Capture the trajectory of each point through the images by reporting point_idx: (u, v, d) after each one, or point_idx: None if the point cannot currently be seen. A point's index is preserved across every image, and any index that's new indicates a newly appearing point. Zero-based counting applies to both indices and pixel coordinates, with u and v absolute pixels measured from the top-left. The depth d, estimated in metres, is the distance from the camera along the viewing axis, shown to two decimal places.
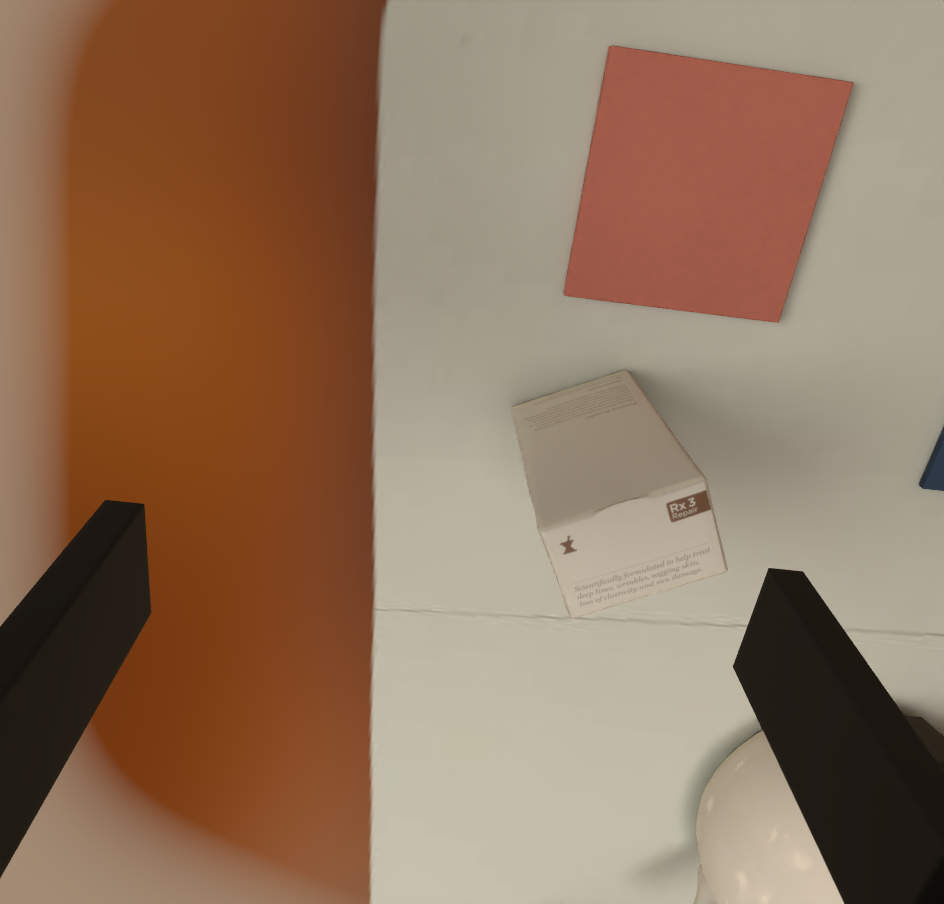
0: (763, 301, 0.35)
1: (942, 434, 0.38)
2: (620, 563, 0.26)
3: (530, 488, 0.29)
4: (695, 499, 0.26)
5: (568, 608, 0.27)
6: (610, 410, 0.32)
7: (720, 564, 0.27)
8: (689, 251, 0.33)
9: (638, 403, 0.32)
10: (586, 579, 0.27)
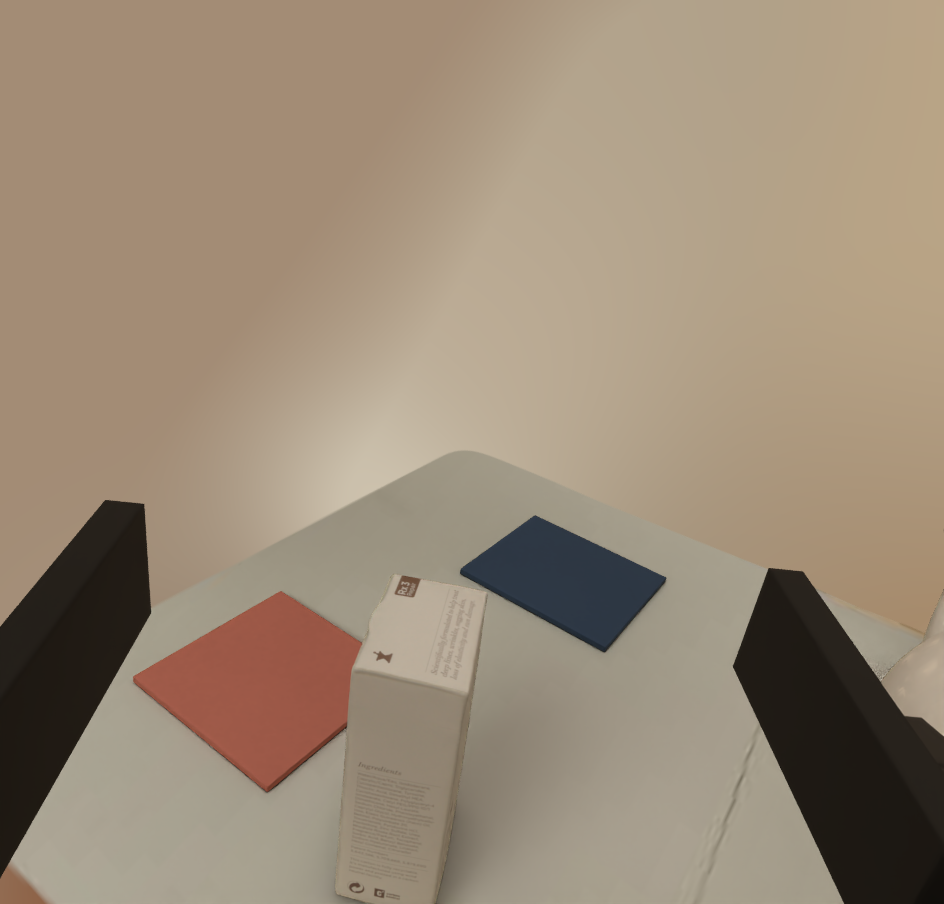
0: None
1: (563, 628, 0.48)
2: (428, 635, 0.28)
3: (346, 734, 0.27)
4: (404, 581, 0.30)
5: (454, 690, 0.26)
6: None
7: (476, 590, 0.31)
8: (308, 695, 0.40)
9: None
10: (427, 661, 0.26)
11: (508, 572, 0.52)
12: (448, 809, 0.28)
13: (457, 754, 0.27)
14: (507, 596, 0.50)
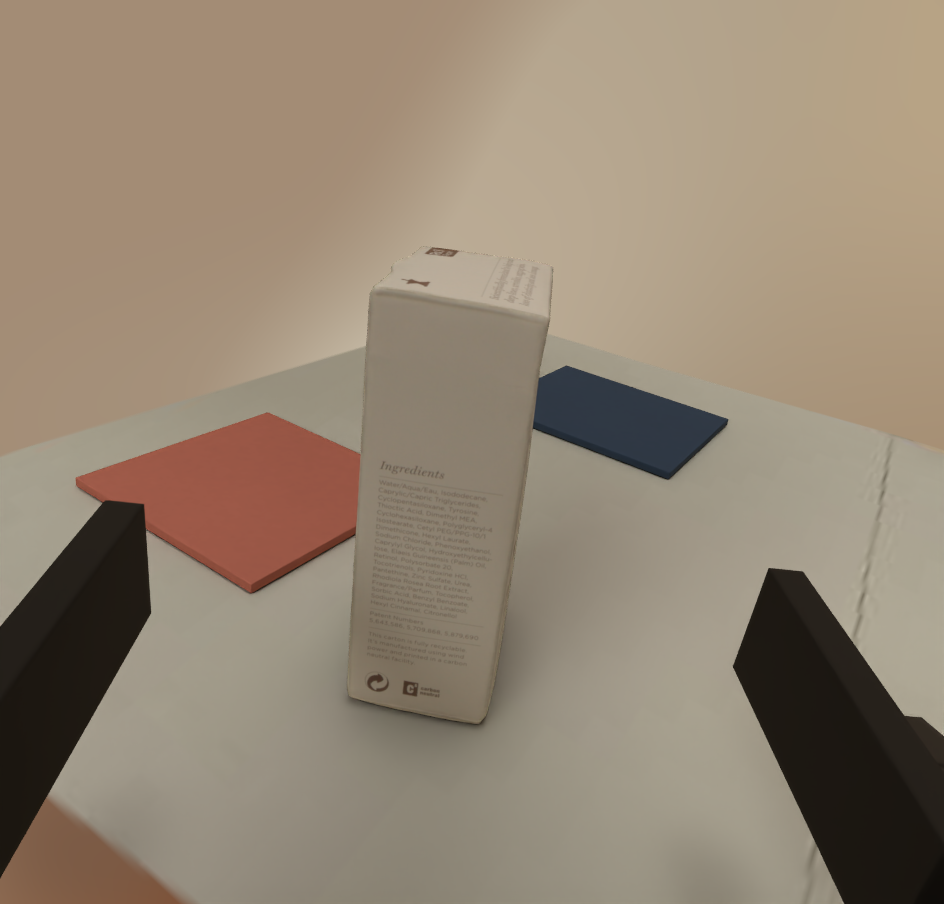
0: None
1: (615, 456, 0.39)
2: (479, 276, 0.19)
3: (363, 415, 0.18)
4: (437, 249, 0.22)
5: (526, 314, 0.17)
6: None
7: (537, 262, 0.22)
8: (304, 501, 0.31)
9: None
10: (483, 291, 0.18)
11: (542, 408, 0.43)
12: (513, 536, 0.19)
13: (529, 434, 0.18)
14: (544, 428, 0.41)
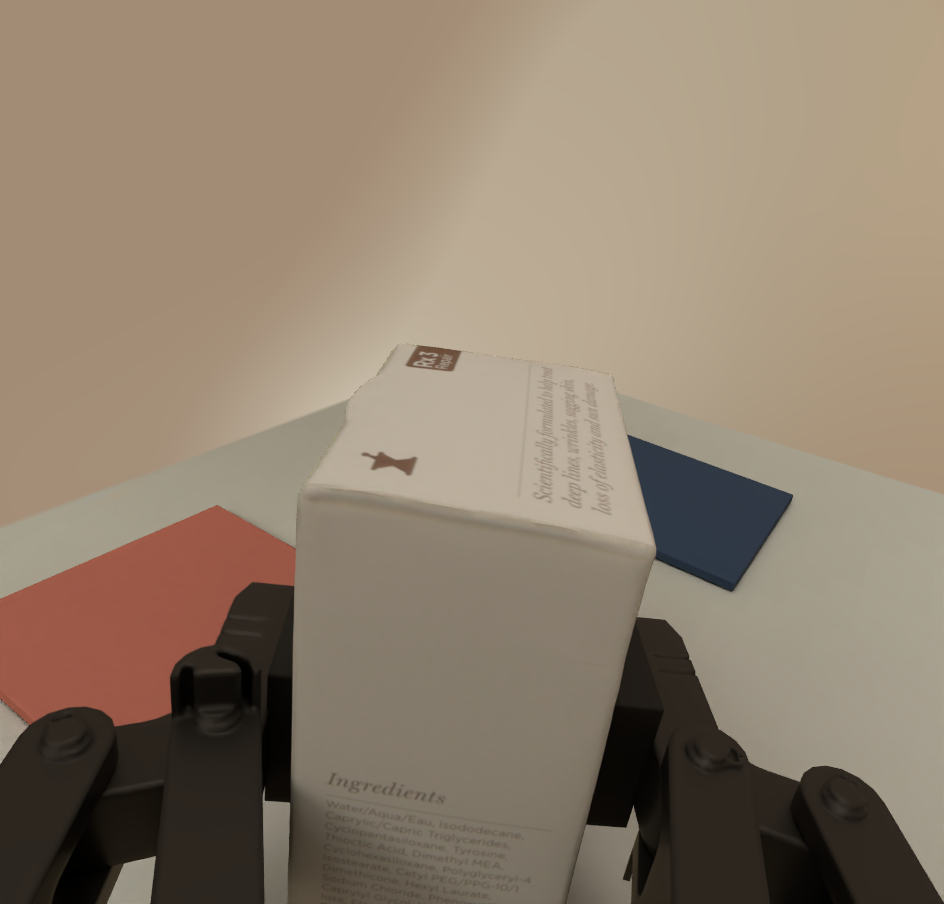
0: None
1: (661, 558, 0.31)
2: (504, 427, 0.10)
3: (293, 698, 0.10)
4: (426, 351, 0.13)
5: (612, 541, 0.08)
6: None
7: (589, 371, 0.13)
8: None
9: None
10: (519, 475, 0.09)
11: None
12: (567, 887, 0.11)
13: (605, 739, 0.10)
14: None
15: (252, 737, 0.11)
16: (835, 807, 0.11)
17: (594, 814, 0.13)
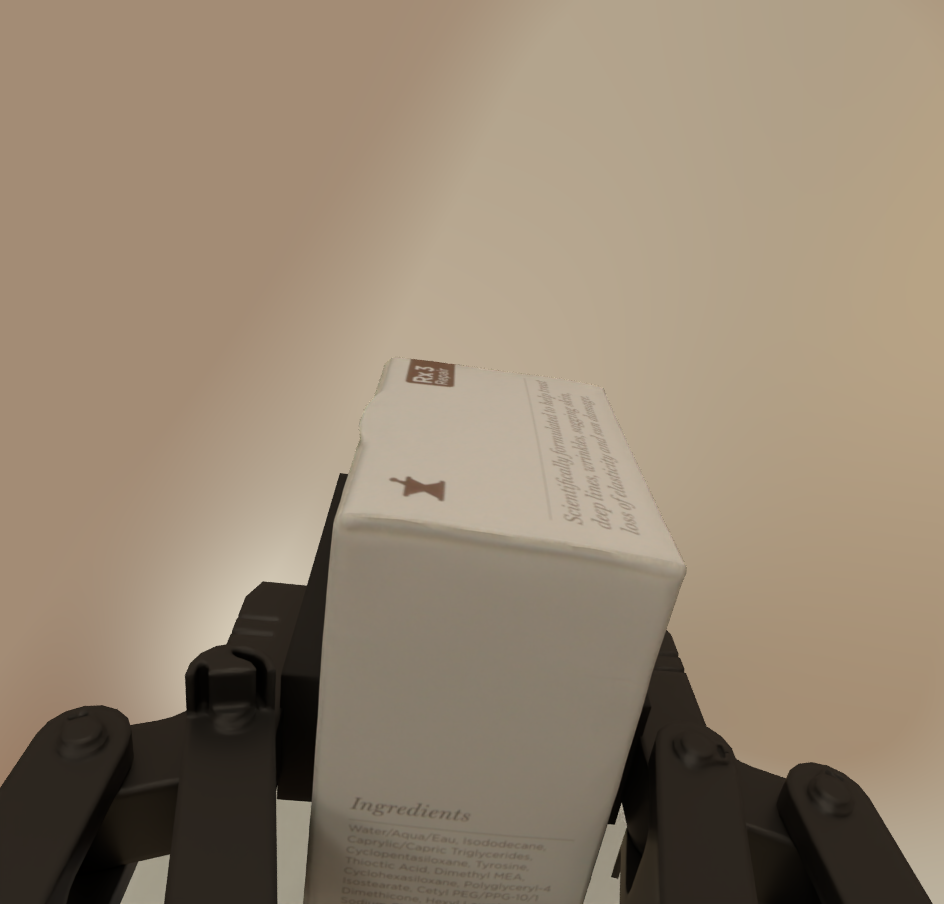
0: None
1: None
2: (520, 446, 0.11)
3: (318, 725, 0.10)
4: (421, 365, 0.13)
5: (645, 561, 0.09)
6: None
7: (581, 383, 0.14)
8: None
9: None
10: (545, 497, 0.09)
11: None
12: (585, 892, 0.11)
13: (629, 749, 0.10)
14: None
15: (266, 736, 0.11)
16: (821, 804, 0.11)
17: None
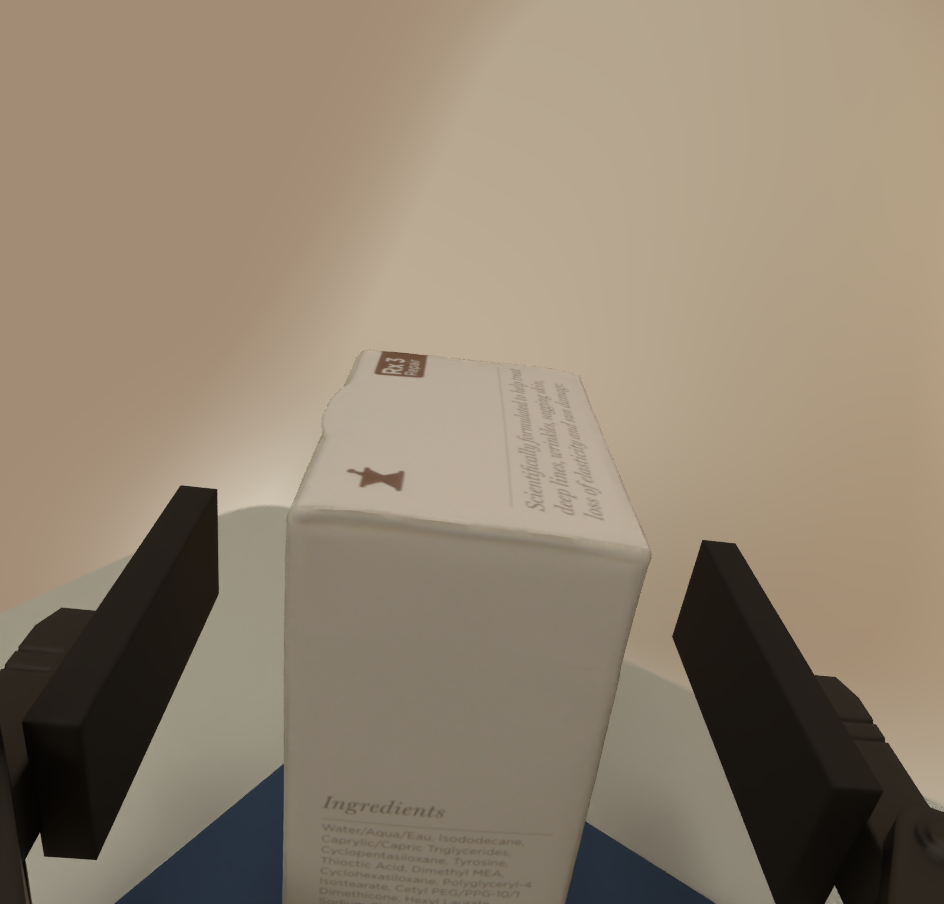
0: None
1: None
2: (486, 435, 0.10)
3: (285, 723, 0.10)
4: (392, 357, 0.13)
5: (608, 547, 0.08)
6: None
7: (556, 370, 0.13)
8: None
9: None
10: (508, 484, 0.09)
11: None
12: (567, 887, 0.11)
13: (603, 741, 0.10)
14: None
15: None
16: None
17: (790, 896, 0.12)
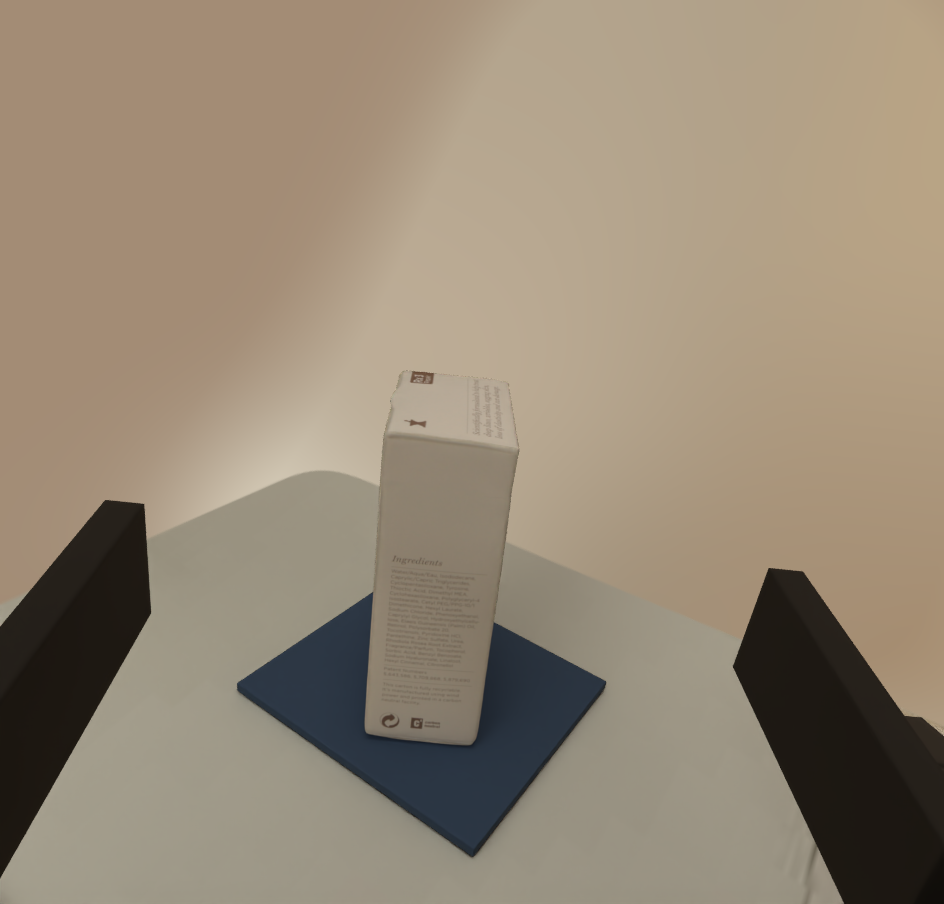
0: None
1: (400, 803, 0.26)
2: (459, 408, 0.25)
3: (378, 522, 0.24)
4: (417, 374, 0.27)
5: (502, 447, 0.23)
6: None
7: (496, 380, 0.28)
8: None
9: None
10: (466, 426, 0.24)
11: (323, 686, 0.29)
12: (495, 603, 0.25)
13: (506, 530, 0.24)
14: (309, 737, 0.27)
15: None
16: None
17: None
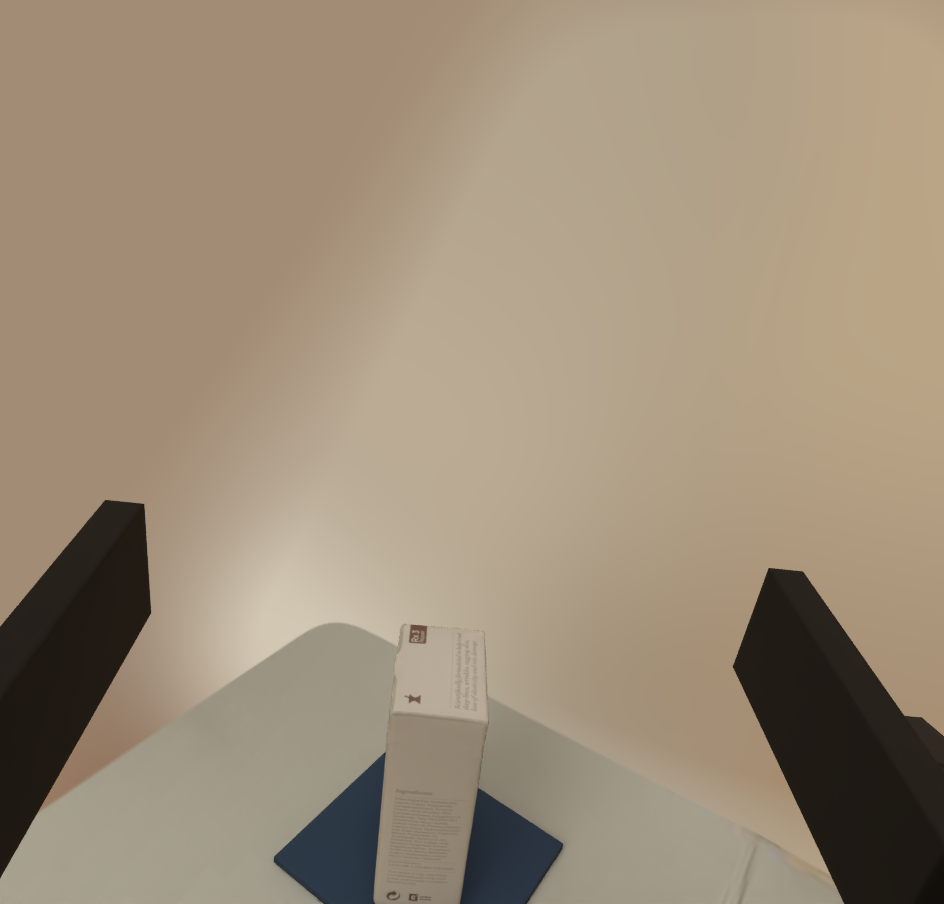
0: None
1: None
2: (445, 676, 0.33)
3: (385, 767, 0.32)
4: (414, 629, 0.36)
5: (476, 720, 0.31)
6: None
7: (475, 631, 0.36)
8: None
9: None
10: (450, 698, 0.32)
11: (340, 857, 0.38)
12: (472, 818, 0.34)
13: (479, 772, 0.32)
14: None
15: None
16: None
17: None
